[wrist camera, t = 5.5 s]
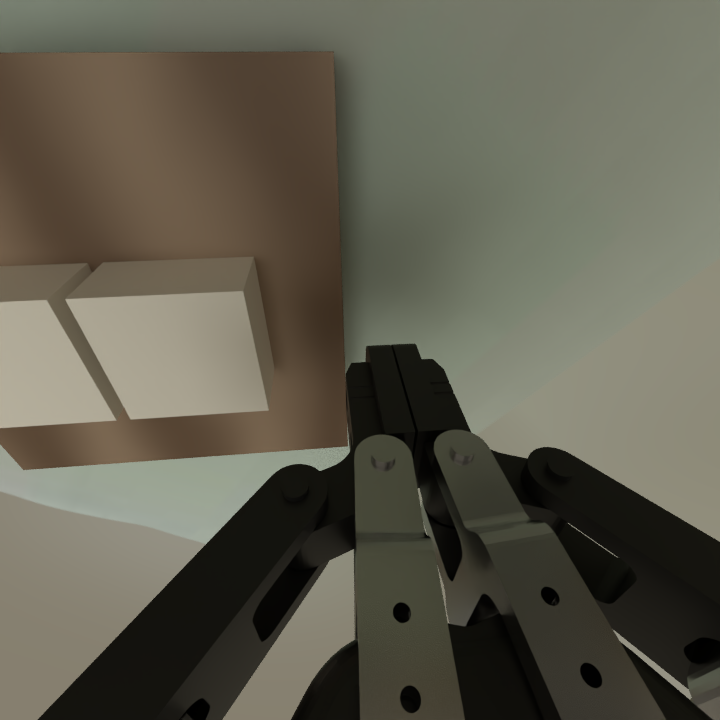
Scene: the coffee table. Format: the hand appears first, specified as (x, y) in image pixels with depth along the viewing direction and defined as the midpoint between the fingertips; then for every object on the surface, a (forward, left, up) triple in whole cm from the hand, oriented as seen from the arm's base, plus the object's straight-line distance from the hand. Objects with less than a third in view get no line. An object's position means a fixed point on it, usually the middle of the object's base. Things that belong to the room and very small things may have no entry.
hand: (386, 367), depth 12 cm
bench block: (+9, 0, -10) cm, 13 cm away
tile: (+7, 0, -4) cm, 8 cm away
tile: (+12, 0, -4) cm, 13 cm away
